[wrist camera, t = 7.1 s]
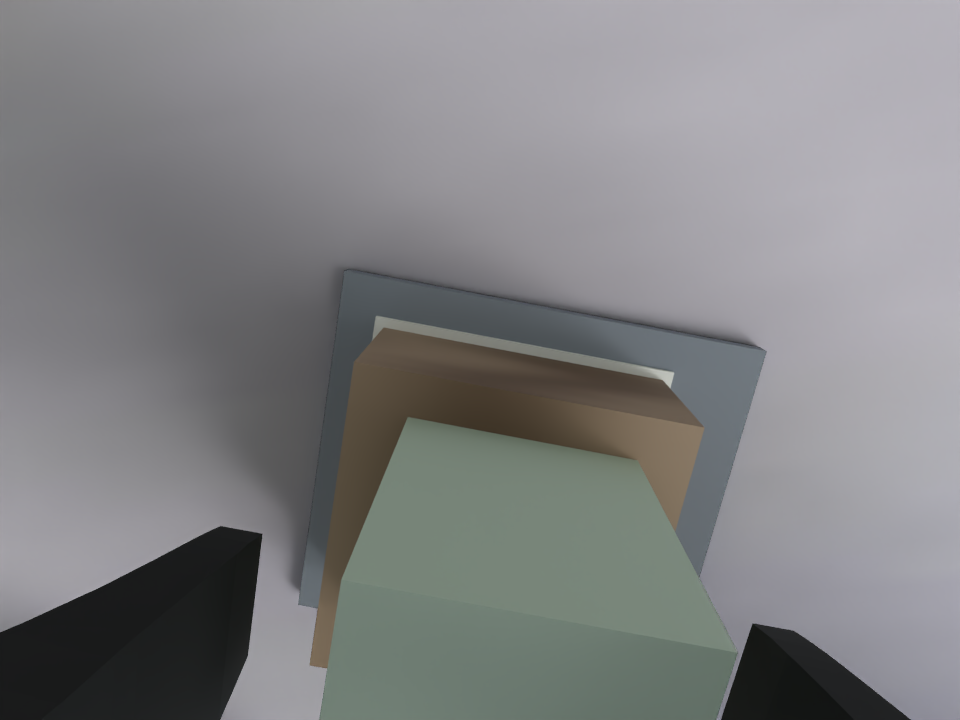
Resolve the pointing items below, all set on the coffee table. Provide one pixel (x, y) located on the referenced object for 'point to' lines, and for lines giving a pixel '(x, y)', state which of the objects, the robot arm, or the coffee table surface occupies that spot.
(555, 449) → the sage block
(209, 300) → the coffee table surface
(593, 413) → the walnut block
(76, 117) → the coffee table surface
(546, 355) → the mat
